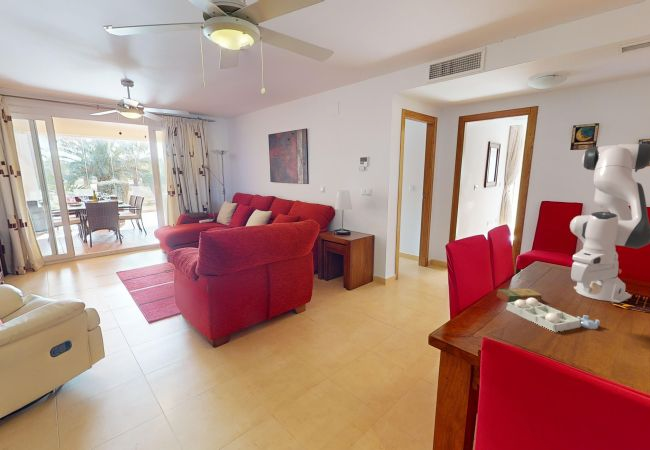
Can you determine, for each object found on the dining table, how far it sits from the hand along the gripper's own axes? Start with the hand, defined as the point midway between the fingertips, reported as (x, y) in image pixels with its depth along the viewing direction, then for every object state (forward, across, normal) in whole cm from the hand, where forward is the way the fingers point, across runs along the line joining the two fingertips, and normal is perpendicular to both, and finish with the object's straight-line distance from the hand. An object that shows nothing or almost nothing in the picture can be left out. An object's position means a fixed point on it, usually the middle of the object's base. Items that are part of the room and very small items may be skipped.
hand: (592, 290), depth 111 cm
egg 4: (+2, 0, 0) cm, 2 cm away
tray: (+14, +12, -10) cm, 21 cm away
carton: (+15, +4, -26) cm, 31 cm away
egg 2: (+14, +8, -16) cm, 23 cm away
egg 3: (+13, +15, -3) cm, 20 cm away
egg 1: (+13, +15, -16) cm, 26 cm away
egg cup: (+14, +1, 0) cm, 14 cm away
